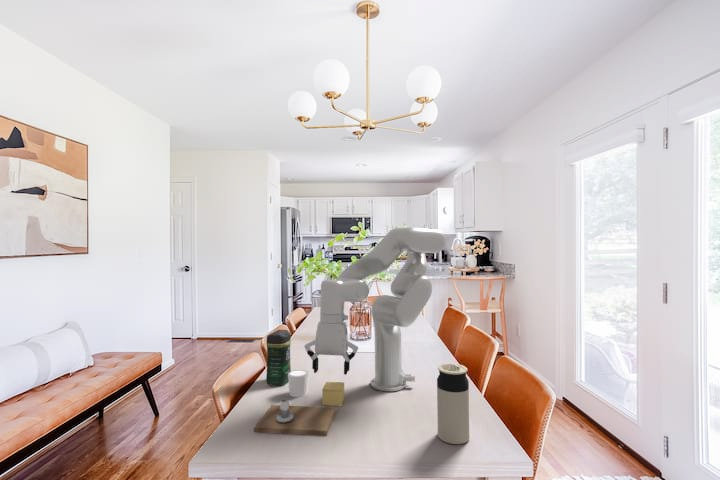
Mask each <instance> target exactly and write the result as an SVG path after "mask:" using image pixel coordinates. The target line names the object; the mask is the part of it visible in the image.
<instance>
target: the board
mask: <svg viewBox="0 0 720 480" xmlns="http://www.w3.org/2000/svg"><path fill="white" fill-rule="evenodd" d="M289 413H292V414H293V421H292V422H290V423H287V424H279V423H277V422H276V416H277V415H278V414H280V404H271V405H270V406H269V408H268V409H267V410H266V412H265V413H263V415H262V416H261V417H260V419H259V420H258V421H257V423H256V424H255V426H254V427H253V432H255V433H267V434H268V433H269V434H291V435H292V434H293V435H312V436H313V435H315V436H327V435H328V433H329V431H330V428H331V425H332V423H333V420H334V418H335V415H336V413H337V407H336V406H312V405H311V406H309V405H307V406H306V405H289Z"/></svg>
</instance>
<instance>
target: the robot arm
mask: <svg viewBox="0 0 720 480" xmlns="http://www.w3.org/2000/svg"><path fill="white" fill-rule="evenodd" d="M446 244H447V240H446V236H445V234H444V233H443V232H442V231H441V230H439V229H431V228H420V227H396V228H393V229H391V230H390V231H389V232H388V233H386V235H385V236H384V237H383V238H382V239H381V240H380V241H379V242H378V243H377V244H376V245H375V246H373V248H372V249H371V250H370V252H368V253H367V254H365V255H363V256H361V258H359V259H357V260H356V261H354V262H352V263H350V264H349V265H348V266H347V267H346V268H345V269H343V271H342V272H340V274H339V275H338V276H337V277H336V278H335V279H324V280H322V281H321V283H320V314H319V317H320V318H319V320H320V321H318V323H317V327H316V332H315V339H314V340H312V341H309V342H308V343H305V344H304V346H303V347H304V349H305V351H306V354H307V355H308V356H309V358H310V359H311V360H312V364H311V366H312V368H311V369H312V370H313V373H314V374H316V373H317V372H319V358H318V357H319V356H320V355H323V356H341V357H342V358H343V360H344V362H343V375H344V376H345V375H346V376H347V373H348V372H349V371H350V363H351V362H350V361H351V360H352V359H353V358H355V356H356V354H357V352H358V350H359V346H357V345H356V344H354V343H352V342H351V341H349V340H348V339H349V337H348V327H347V322H345V321H346V320H347V321H348V320H349V315H346V314H345V302H348V303H361V302H363V301H365V300H366V299H367V298H368V296H369V294H370V288H369V286H368V285H369V284H368V283H366V282H365V281H363V280H364V279H366V278H368V277H371V276H373V275H377V274H380V273H383V272H385V271H387V270H388V269H389V268H390V267H391V266H392V264H393V263H394V262H395V261H396V260H397V259H398V258H399V257H400V255H401V254H402V253H404V252H406V254H407V258H406V261H405V262H404V264H403V266H402V267H401V269H400V270H399V272H398V273H397V274H396V275H395V277H394V278H393V280H392V282H391V283H390V292H391V294H392V295H393V296H392V295H385V294H384V295H380V296H377V297H376V298H375V299H374V301H373V302H372V305H371V317H372V323H373V329H374V332H373V333H374V377H373V378H372V379H371V380H370V386H371V387H372V388H373V389H375V390H378V391H382V392H397V391H401V390H404V389H405V388H406V387H407V382H412V383H413V382H416V377H415V375H412V373H407V374H406V373H404V370H403V368H402V366H403V363H402V358H403V355H402V352H403V351H402V350H403V349H402V348H403V347H402V331H401V328H408V327H410V326H411V325H413V323H415V322H416V320H417V318H419V316H420V314H421V313H422V311H423V309H424V308H425V306H426V305H427V303H428V301H429V299H430V298H431V296H432V292H433V284H432V282H431V279H430V278H429V277H427V276H426V273H427V271H428V268H429V267H428V261H427V257H426V254H428V253H429V254H438V253H441V252H442V251H443V250H444V249H445V247H446ZM400 327H401V328H400ZM313 346H314V351H313V350H312V349H311V347H313ZM348 348H350V349H351V350H352V352H350V354H349V353H348V350H349V349H348Z"/></svg>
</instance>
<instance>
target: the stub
mask: <svg viewBox="0 0 720 480" xmlns="http://www.w3.org/2000/svg"><path fill="white" fill-rule="evenodd" d="M279 405H280V414H278V415H277V416H276V422H277V423H279V424H287V423H290V422H292V421H293V414H292V413H289V406H290V400H286V399H283V400H281V401H280V402H279Z"/></svg>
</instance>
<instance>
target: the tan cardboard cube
mask: <svg viewBox="0 0 720 480" xmlns="http://www.w3.org/2000/svg"><path fill="white" fill-rule="evenodd" d="M321 389H322V392H321V393H322V397H321V398H322V399H321V400H322V401H321V402H322V404H321V405H322V406H335V407H336V406H341V407H342V405H343V403H344V400H345V382H341V381H339V382H338V381H326V382H325V384H323V387H322V388H321Z"/></svg>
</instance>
